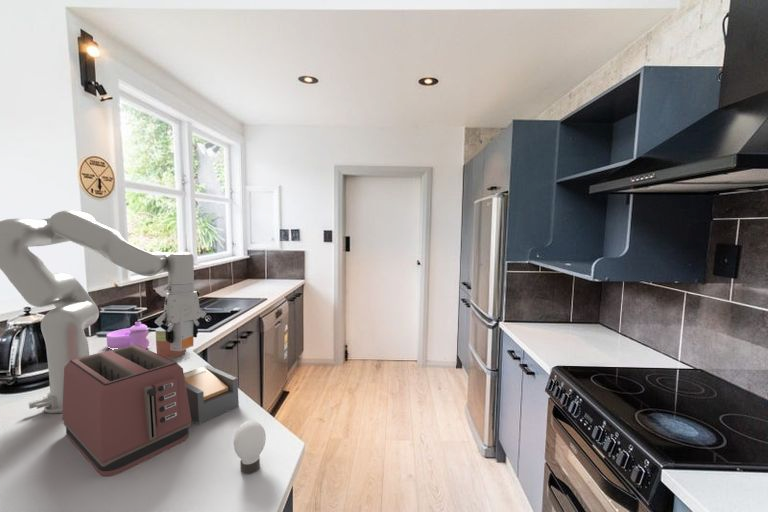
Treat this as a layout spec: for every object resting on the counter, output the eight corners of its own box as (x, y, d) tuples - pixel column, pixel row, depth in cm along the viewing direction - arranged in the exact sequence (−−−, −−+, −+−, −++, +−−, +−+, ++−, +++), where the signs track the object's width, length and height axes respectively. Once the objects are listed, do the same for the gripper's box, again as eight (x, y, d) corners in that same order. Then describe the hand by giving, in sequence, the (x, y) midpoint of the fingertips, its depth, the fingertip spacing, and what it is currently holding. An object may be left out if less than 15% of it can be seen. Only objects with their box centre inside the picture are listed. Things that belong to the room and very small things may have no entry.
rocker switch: (202, 405, 96) (203, 396, 96) (178, 382, 105) (179, 374, 104) (227, 395, 103) (228, 386, 102) (203, 374, 111) (203, 366, 110)
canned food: (191, 352, 151) (189, 326, 151) (164, 360, 142) (162, 332, 141) (178, 347, 157) (177, 323, 157) (151, 355, 148) (150, 328, 147)
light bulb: (229, 479, 73) (227, 430, 72) (242, 458, 79) (240, 413, 78) (260, 478, 73) (258, 430, 72) (270, 457, 79) (269, 413, 79)
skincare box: (180, 351, 112) (180, 316, 111) (170, 350, 113) (169, 315, 112) (194, 346, 118) (194, 312, 117) (184, 344, 119) (183, 311, 118)
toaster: (106, 485, 71) (100, 393, 70) (62, 433, 90) (56, 360, 89) (198, 439, 87) (194, 363, 85) (143, 403, 106) (139, 340, 105)
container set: (102, 346, 161) (100, 319, 160) (138, 338, 173) (137, 313, 173) (123, 356, 147) (121, 327, 146) (161, 346, 160) (159, 319, 159)
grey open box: (199, 424, 94) (197, 393, 93) (170, 405, 104) (168, 377, 103) (238, 406, 103) (237, 377, 103) (208, 390, 114) (207, 365, 113)
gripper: (157, 293, 105) (158, 348, 106) (212, 286, 119) (212, 335, 120) (147, 290, 109) (148, 343, 110) (201, 284, 123) (202, 331, 124)
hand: (182, 339), depth 115 cm, fingers closed on skincare box, 7 cm apart
